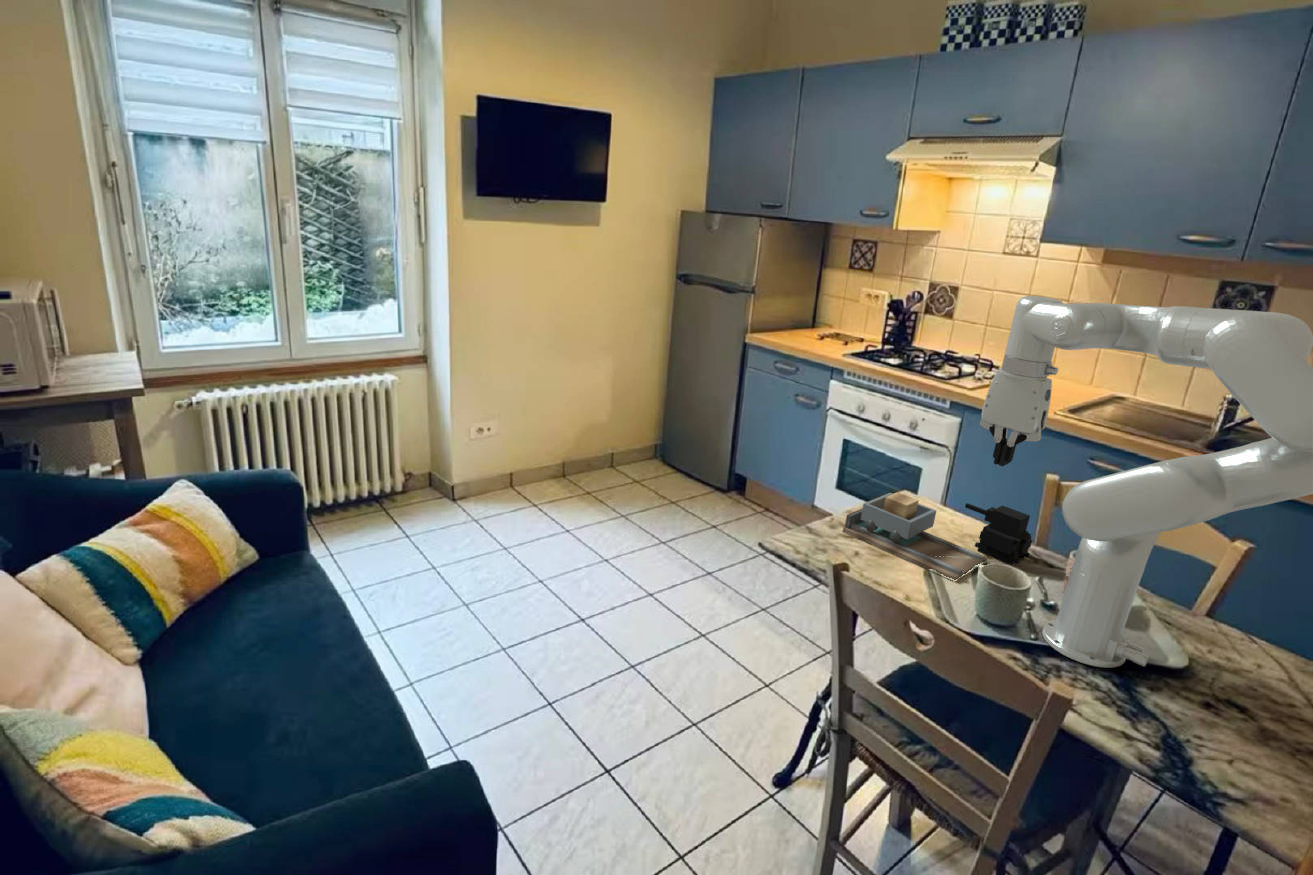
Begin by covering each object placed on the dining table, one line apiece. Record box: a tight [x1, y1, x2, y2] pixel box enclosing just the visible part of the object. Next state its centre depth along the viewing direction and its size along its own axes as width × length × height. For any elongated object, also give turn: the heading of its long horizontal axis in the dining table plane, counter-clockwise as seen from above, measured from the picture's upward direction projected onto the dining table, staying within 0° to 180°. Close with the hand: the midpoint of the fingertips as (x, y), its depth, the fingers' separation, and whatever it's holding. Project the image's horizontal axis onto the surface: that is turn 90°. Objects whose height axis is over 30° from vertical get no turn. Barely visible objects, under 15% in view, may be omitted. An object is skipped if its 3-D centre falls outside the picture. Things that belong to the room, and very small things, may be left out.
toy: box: [964, 502, 1033, 566], centre depth 154 cm, size 8×14×10 cm, turn 41°
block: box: [883, 491, 919, 520], centre depth 155 cm, size 5×5×5 cm
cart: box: [861, 492, 937, 542], centre depth 156 cm, size 11×11×6 cm
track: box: [842, 507, 988, 580], centre depth 153 cm, size 26×14×4 cm, turn 42°
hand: (1001, 463), depth 133 cm, fingers closed
